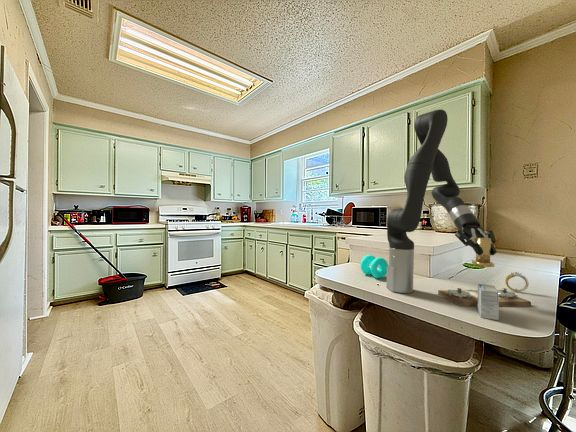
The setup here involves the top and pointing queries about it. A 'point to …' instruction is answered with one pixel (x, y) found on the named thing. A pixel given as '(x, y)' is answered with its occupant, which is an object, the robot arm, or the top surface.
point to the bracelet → (514, 276)
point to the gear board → (474, 299)
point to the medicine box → (488, 302)
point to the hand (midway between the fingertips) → (487, 253)
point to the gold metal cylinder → (485, 257)
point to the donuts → (374, 266)
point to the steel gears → (462, 294)
